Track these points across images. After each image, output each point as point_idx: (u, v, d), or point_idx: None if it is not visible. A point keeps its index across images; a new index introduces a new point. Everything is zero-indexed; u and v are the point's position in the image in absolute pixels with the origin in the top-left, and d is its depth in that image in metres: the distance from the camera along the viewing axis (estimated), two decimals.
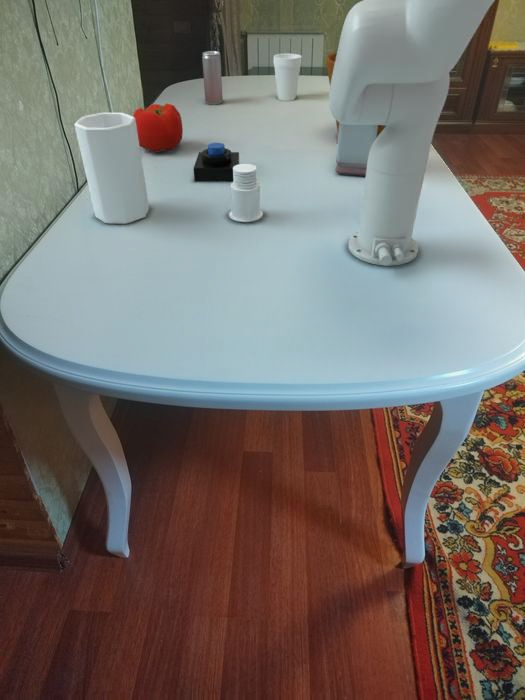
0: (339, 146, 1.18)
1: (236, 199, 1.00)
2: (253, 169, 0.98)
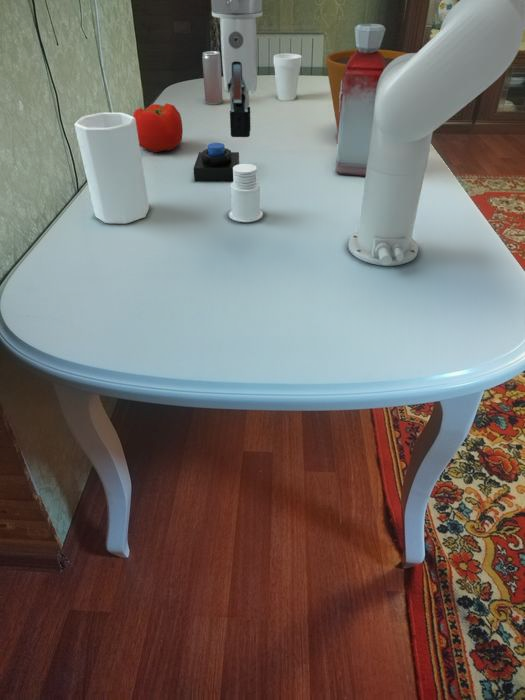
0: (339, 146, 1.18)
1: (236, 199, 1.00)
2: (253, 169, 0.98)
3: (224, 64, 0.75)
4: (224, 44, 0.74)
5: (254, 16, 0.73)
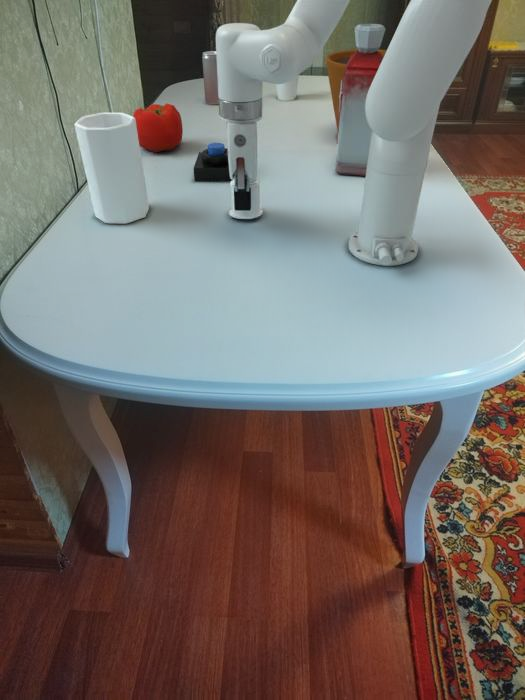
0: (339, 146, 1.18)
1: None
2: None
3: (230, 159, 0.88)
4: (230, 144, 0.87)
5: (255, 120, 0.86)
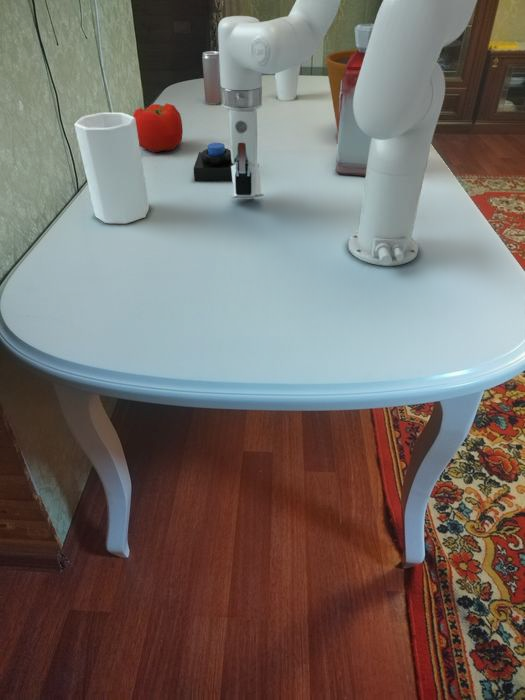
0: (339, 146, 1.18)
1: None
2: None
3: (231, 144, 0.94)
4: (231, 130, 0.92)
5: (255, 108, 0.92)
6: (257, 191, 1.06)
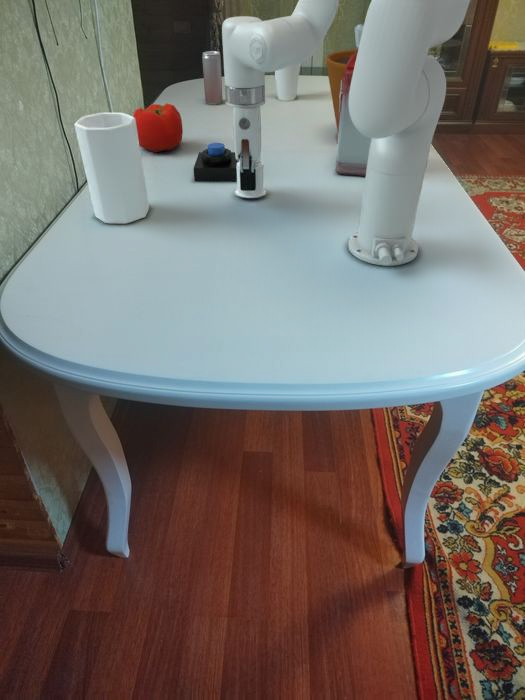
0: (339, 146, 1.18)
1: None
2: None
3: (235, 141, 0.97)
4: (235, 127, 0.95)
5: (258, 105, 0.94)
6: (260, 192, 1.11)
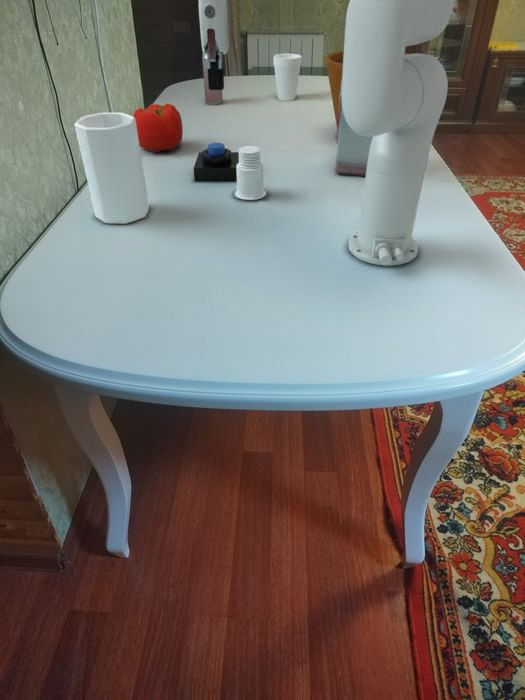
0: (339, 146, 1.18)
1: (242, 179, 1.09)
2: (257, 150, 1.06)
3: (201, 31, 0.98)
4: (201, 15, 0.97)
5: None
6: (260, 194, 1.11)
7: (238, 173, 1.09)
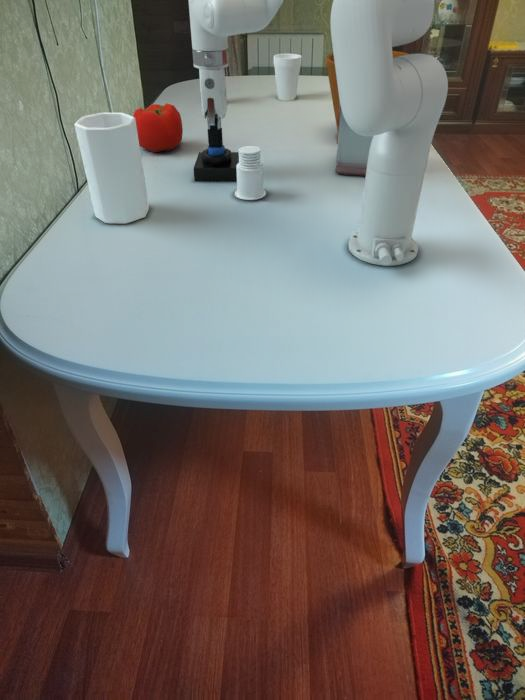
0: (339, 146, 1.18)
1: (242, 179, 1.09)
2: (257, 150, 1.06)
3: (202, 99, 1.09)
4: (201, 86, 1.07)
5: (222, 67, 1.07)
6: (260, 194, 1.11)
7: (238, 173, 1.09)
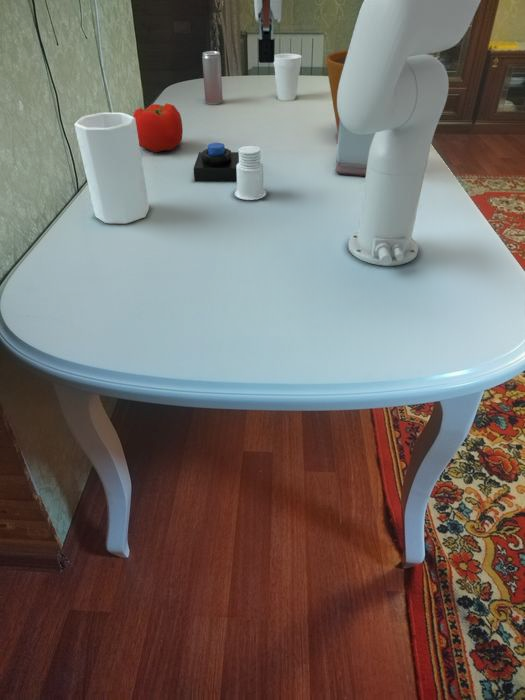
0: (339, 146, 1.18)
1: (242, 179, 1.09)
2: (257, 150, 1.06)
3: None
4: None
5: None
6: (260, 194, 1.11)
7: (238, 173, 1.09)
